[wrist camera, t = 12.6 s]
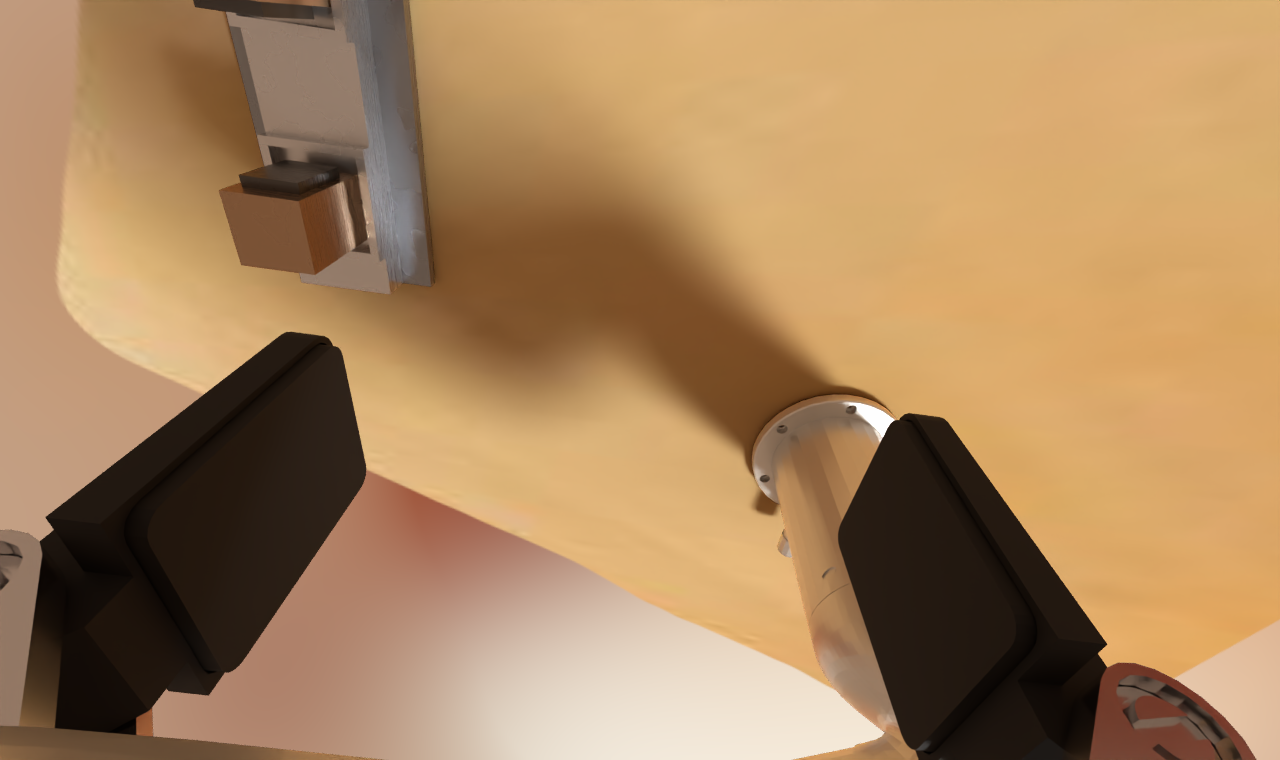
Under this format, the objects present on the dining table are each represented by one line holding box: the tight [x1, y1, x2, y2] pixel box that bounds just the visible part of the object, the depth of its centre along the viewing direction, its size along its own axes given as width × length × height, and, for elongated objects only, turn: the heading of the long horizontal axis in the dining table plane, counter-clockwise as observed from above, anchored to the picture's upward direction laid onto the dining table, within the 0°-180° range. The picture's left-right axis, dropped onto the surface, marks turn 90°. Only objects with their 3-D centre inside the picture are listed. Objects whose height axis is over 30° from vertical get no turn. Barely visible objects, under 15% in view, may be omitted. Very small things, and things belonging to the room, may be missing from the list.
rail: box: [219, 0, 435, 294], centre depth 28 cm, size 24×10×9 cm, turn 173°
